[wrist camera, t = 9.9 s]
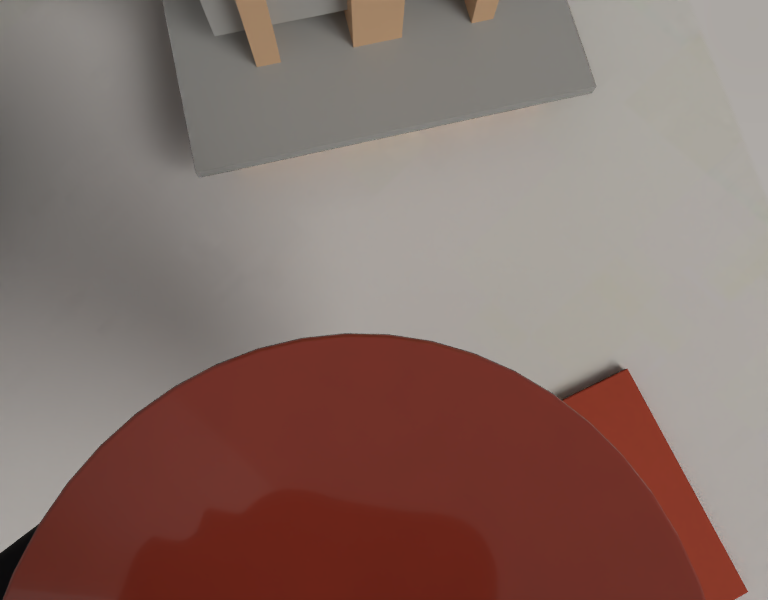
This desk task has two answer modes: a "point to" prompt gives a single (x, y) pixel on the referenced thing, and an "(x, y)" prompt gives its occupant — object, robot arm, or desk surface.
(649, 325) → the desk surface
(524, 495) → the red upright cylinder
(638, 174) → the desk surface
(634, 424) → the red mat
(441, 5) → the desk lamp
